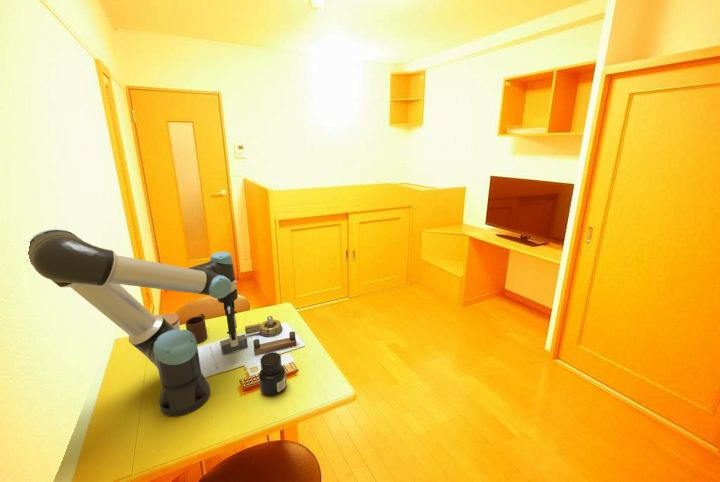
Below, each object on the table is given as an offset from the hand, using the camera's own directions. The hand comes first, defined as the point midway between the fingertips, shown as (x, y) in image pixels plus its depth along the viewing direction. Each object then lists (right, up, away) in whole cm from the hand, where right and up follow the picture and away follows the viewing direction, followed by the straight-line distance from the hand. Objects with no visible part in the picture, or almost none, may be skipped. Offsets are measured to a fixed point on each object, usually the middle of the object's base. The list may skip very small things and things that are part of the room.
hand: (234, 336), depth 135 cm
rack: (+17, -5, +1) cm, 18 cm away
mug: (-19, -3, +10) cm, 22 cm away
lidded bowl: (-34, -4, +9) cm, 35 cm away
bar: (0, -6, +1) cm, 6 cm away
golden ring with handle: (+8, -1, +12) cm, 15 cm away
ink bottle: (+22, -12, -21) cm, 33 cm away
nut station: (+12, -1, +14) cm, 18 cm away
